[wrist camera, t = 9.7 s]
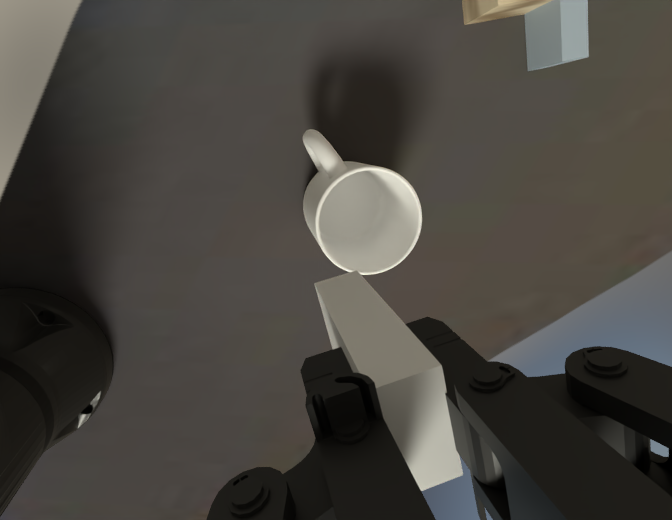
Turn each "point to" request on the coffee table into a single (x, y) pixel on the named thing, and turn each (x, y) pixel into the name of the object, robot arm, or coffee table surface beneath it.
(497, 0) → the block
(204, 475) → the coffee table surface
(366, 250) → the mug
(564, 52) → the board
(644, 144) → the coffee table surface
